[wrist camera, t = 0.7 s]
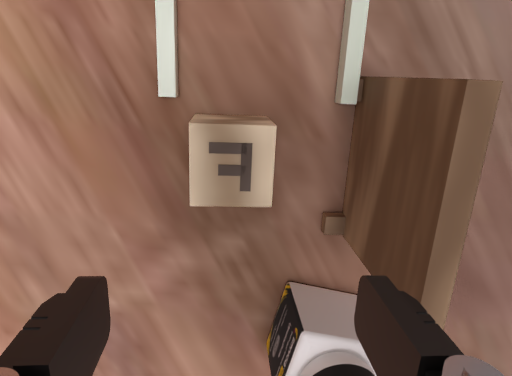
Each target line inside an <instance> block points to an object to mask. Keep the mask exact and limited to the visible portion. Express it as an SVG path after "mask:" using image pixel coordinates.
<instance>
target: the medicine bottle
mask: <svg viewBox="0 0 512 376" xmlns="http://www.w3.org/2000/svg"><path fill="white" fill-rule="evenodd" d="M356 300H357V295H355V294H350V293H345V292H340V291H334V290H329V289H324V288H319V287H314V286H309V285H304V284H299V283H294V282H288V283H287V284H286V286H285V289H284V292H283V295H282V298H281V301H280V304H279V307H278V310H277V313H276V316H275V319H274V322H273V325H272V328H271V331H270V334H269V337H268V340H267V351H268V357H269V363H270V370H271V376H377V375H376V373H375V371H374V369H373V367H372V365H371V363H370V361H369V359H368V357H367V355H366V353H365V351H364V349H363V347H362V345H361V343H360V341H359V339H358V337H357V335H356V332H355V326H354V314H355V307H356Z"/></svg>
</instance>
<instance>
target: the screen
mask: <svg viewBox="0 0 512 376" xmlns="http://www.w3.org/2000/svg"><path fill="white" fill-rule="evenodd" d="M502 83H503V81H492V80H472V79H436V78H398V77H360V80H359V88H358V96H357V104H356V106H355V115H354V123H353V131H352V139H351V147H350V155H349V163H348V171H347V179H346V187H345V195H344V203H343V211H342V213H325V212H323V217H322V226H321V230H322V232H323V233H324V235H343V237H344V238H345V240H346V241H347V242H348V244H349V245H350V246H351V248H352V249H353V250H354V252H355V253H356V255H357V256H358V257H359V259H360V260H361V261H362V263H363V264H364V265H365V267H366V268H367V270H368V271H369V272H370V274H371V275H385V276H387V277H388V278H389V279H390V280H391V282H392V283H393V284H394V285H395V287H396V288H397V289H398V290H399V291H404V292H406V293H407V294H409V295H410V296H412V297H413V298H415V299H416V300H418V301H419V302H420V304H421V305H422V306H423V307H424V308H425V309H426V311H427V313H428V314H430V315H431V317H432V318H433V319H434V320H435V323H436V324H438V325H439V326H440V327H441V328H442V330H444V326H445V322H446V317H447V313H448V309H449V305H450V301H451V296H452V292H453V288H454V284H455V280H456V276H457V271H458V267H459V263H460V259H461V255H462V250H463V246H464V242H465V238H466V234H467V229H468V225H469V221H470V217H471V213H472V209H473V204H474V200H475V196H476V192H477V188H478V183H479V179H480V175H481V171H482V167H483V162H484V158H485V154H486V150H487V146H488V142H489V137H490V133H491V129H492V125H493V121H494V116H495V112H496V108H497V104H498V100H499V95H500V91H501V87H502Z"/></svg>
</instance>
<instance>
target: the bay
mask: <svg viewBox="0 0 512 376" xmlns="http://www.w3.org/2000/svg"><path fill="white" fill-rule="evenodd" d="M368 8H369V0H346V2H345V11H344V21H343V30H342V39H341V49H340V58H339V67H338V77H337V86H336V95H335V103H339V104H357V96H358V88H359V80H360V72H361V64H362V56H363V48H364V40H365V32H366V24H367V16H368ZM155 11H156V40H157V68H158V97H177V96H178V54H177V2H176V0H155Z"/></svg>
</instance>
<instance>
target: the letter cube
mask: <svg viewBox="0 0 512 376" xmlns="http://www.w3.org/2000/svg"><path fill="white" fill-rule="evenodd" d="M276 128H277V126H276V125H275V124H274V123H273V122H272V121H271V120H270V119H269V118H268V117H267V116H250V115H223V114H195V115H194V116H193V118H192V119H191V121H190V122H189V184H190V206H219V207H272V193H273V177H274V160H275V144H276Z"/></svg>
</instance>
